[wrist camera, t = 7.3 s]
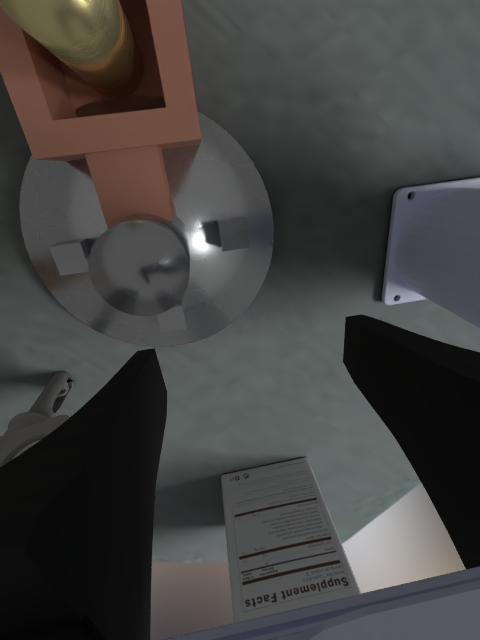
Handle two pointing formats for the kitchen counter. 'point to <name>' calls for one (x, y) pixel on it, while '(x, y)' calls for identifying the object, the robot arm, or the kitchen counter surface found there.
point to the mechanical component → (36, 419)
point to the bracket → (110, 129)
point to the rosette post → (153, 243)
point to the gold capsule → (85, 39)
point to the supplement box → (281, 541)
